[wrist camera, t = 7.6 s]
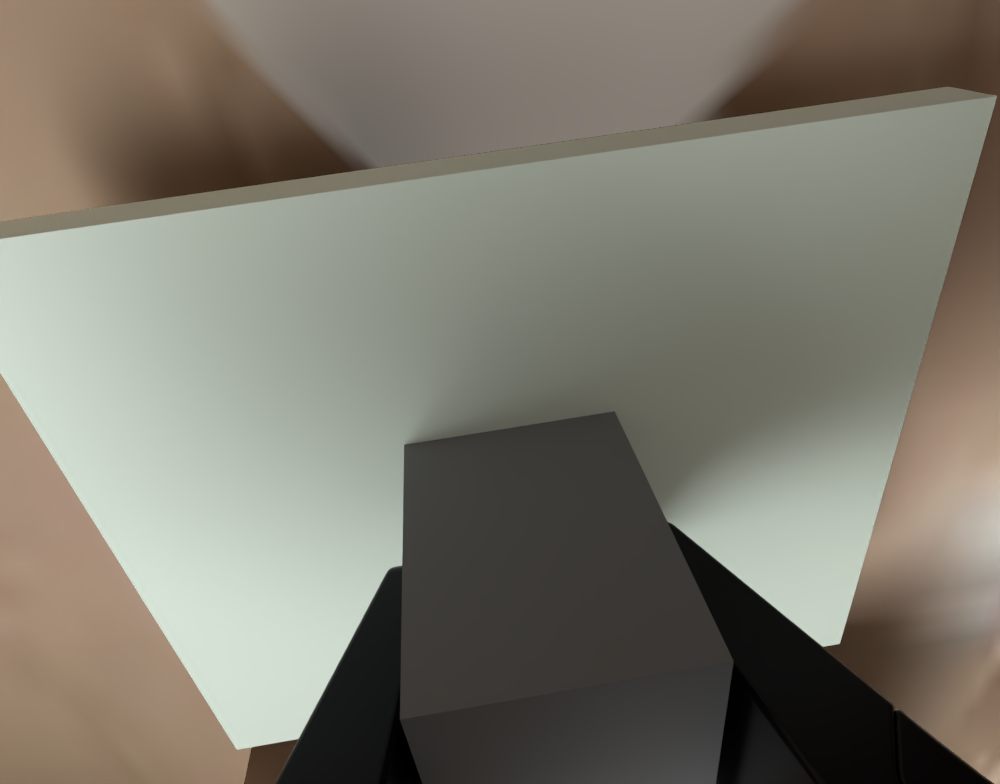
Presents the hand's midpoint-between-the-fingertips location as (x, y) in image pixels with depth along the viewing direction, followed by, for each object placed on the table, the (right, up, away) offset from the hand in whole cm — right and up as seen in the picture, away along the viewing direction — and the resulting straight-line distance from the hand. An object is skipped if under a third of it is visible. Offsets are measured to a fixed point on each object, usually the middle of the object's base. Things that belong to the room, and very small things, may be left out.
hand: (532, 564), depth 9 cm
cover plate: (0, +1, +2) cm, 2 cm away
